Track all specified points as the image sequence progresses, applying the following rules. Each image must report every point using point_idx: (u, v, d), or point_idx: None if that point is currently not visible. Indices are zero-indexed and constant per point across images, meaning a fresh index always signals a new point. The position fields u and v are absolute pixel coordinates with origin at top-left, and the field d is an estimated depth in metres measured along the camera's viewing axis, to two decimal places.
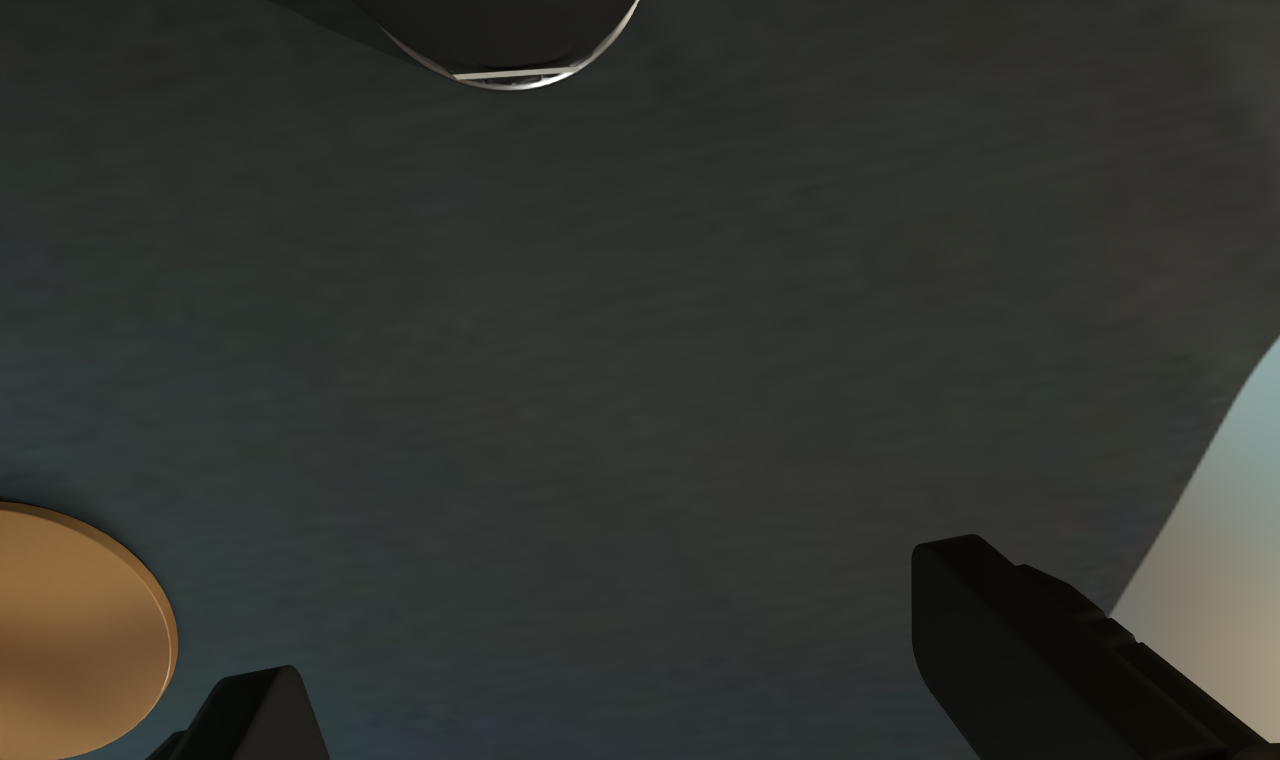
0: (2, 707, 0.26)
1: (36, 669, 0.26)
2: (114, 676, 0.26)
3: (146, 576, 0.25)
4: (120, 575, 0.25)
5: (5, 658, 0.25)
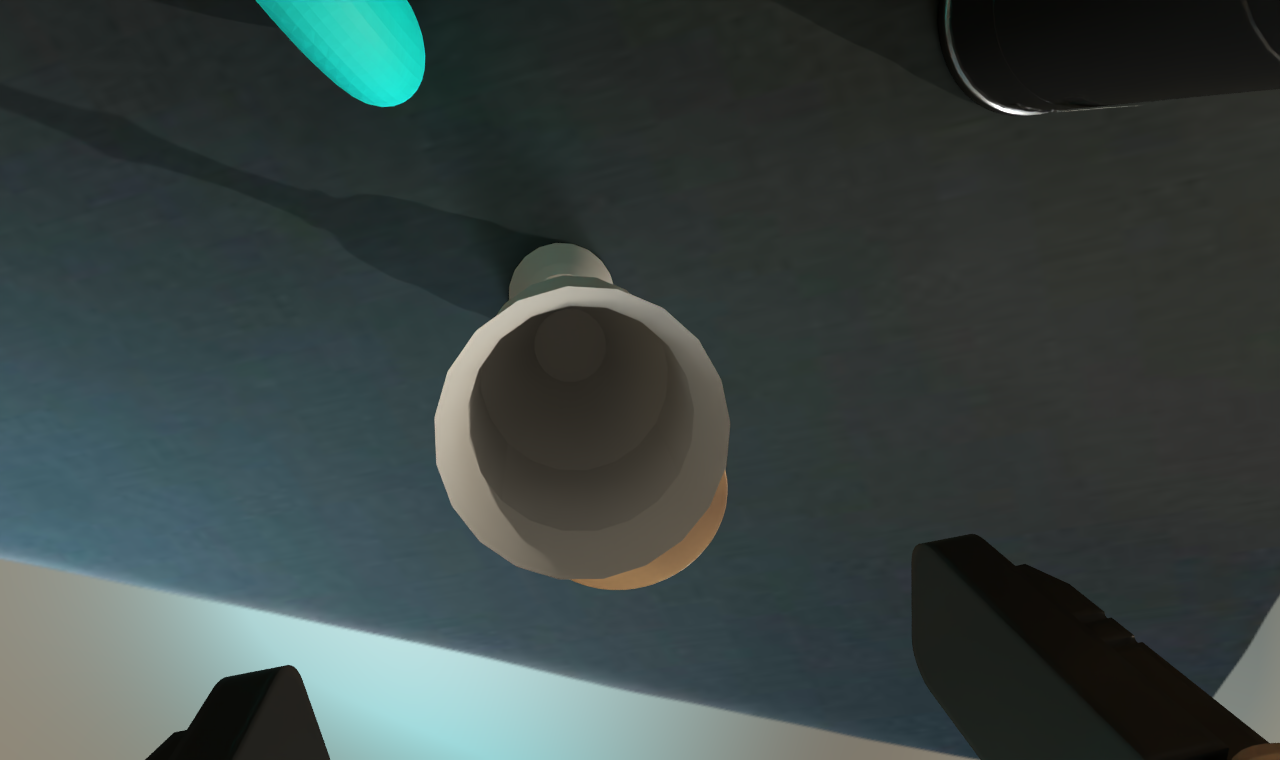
0: None
1: None
2: None
3: None
4: None
5: None
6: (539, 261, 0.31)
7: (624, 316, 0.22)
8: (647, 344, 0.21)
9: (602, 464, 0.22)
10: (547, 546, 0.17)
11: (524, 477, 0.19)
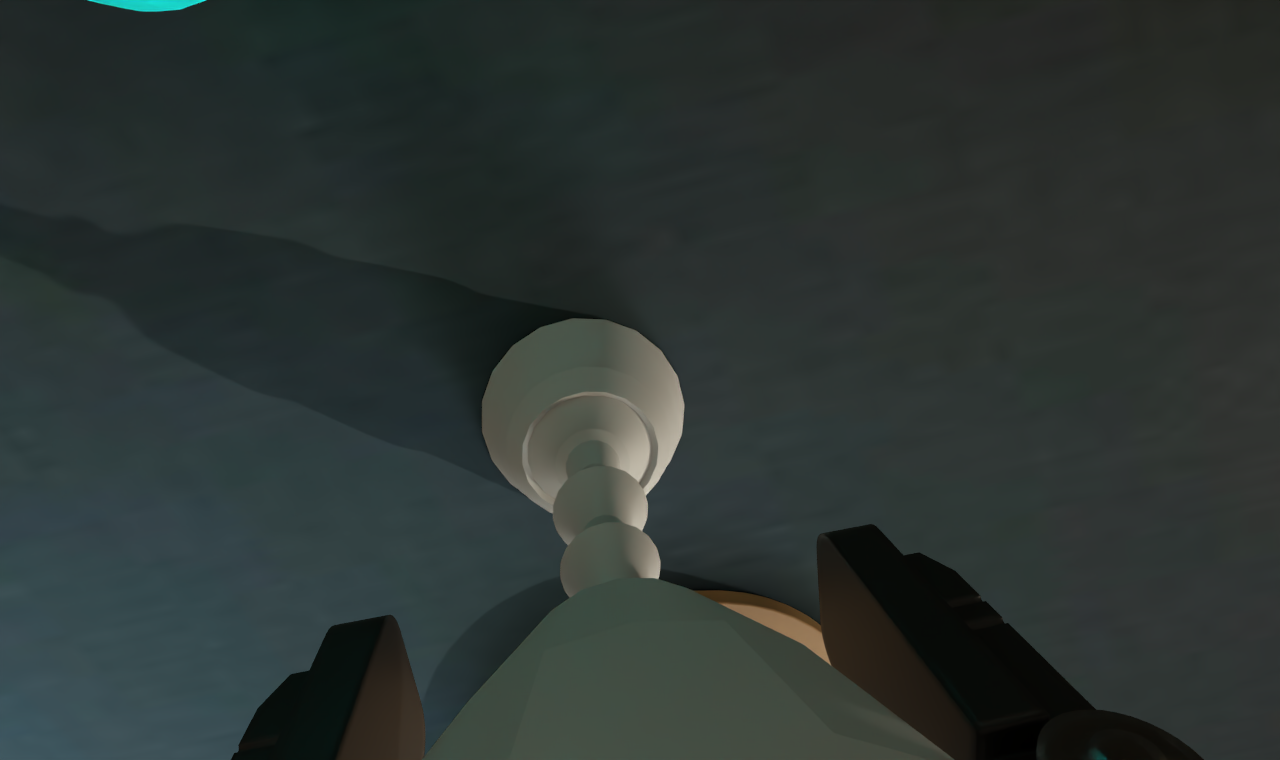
0: None
1: None
2: None
3: None
4: None
5: None
6: (541, 359, 0.15)
7: None
8: None
9: None
10: None
11: None
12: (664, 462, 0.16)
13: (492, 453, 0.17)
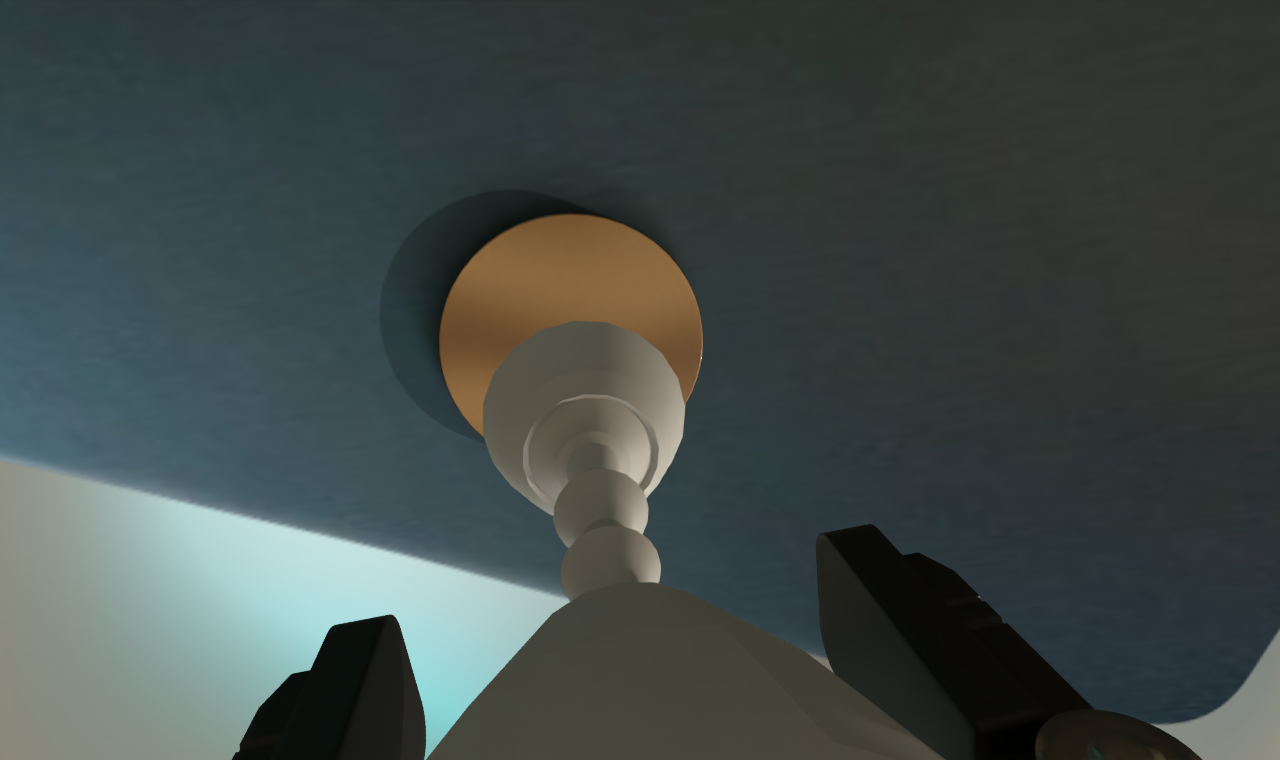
0: None
1: None
2: None
3: (692, 292, 0.29)
4: (678, 287, 0.28)
5: None
6: (542, 362, 0.15)
7: None
8: None
9: None
10: None
11: None
12: (665, 464, 0.16)
13: (492, 455, 0.17)
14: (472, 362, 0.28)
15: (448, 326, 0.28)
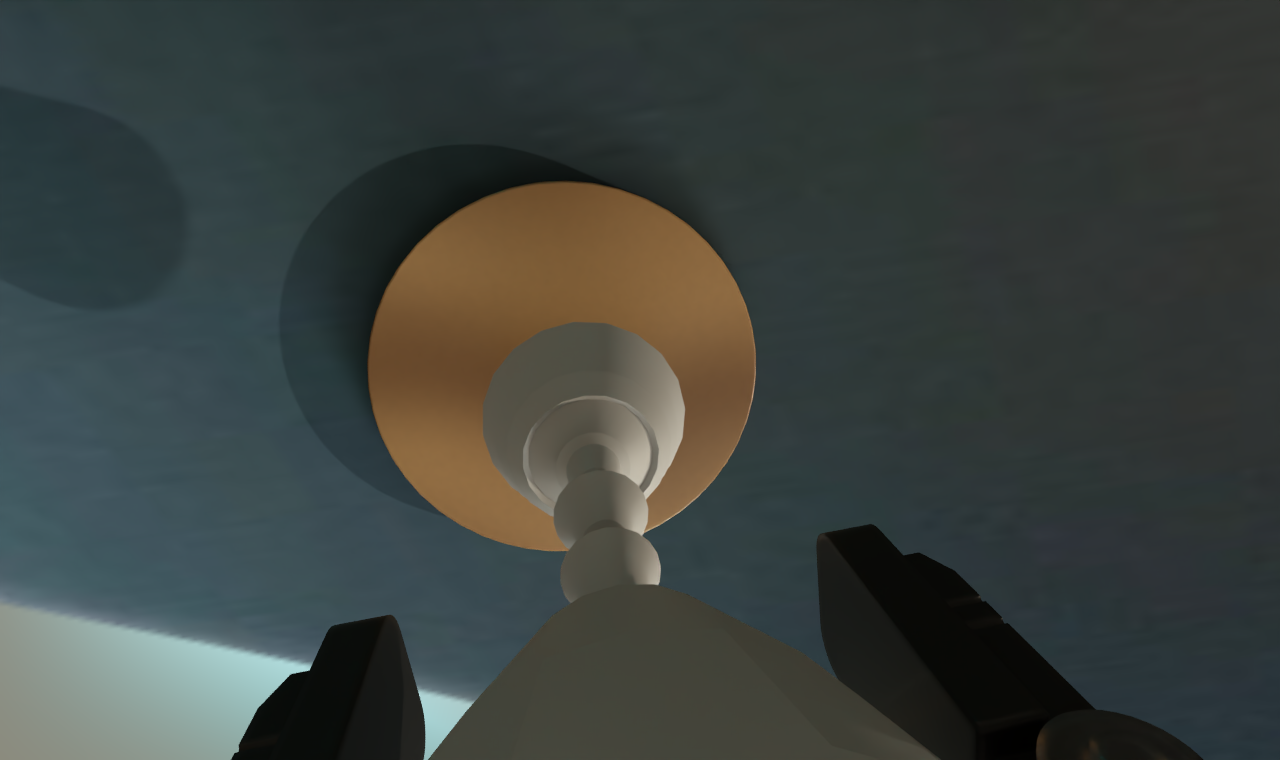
0: None
1: None
2: None
3: (742, 301, 0.20)
4: (723, 293, 0.19)
5: None
6: (542, 363, 0.15)
7: None
8: None
9: None
10: None
11: None
12: (665, 466, 0.16)
13: (492, 456, 0.17)
14: (418, 401, 0.19)
15: (381, 348, 0.18)
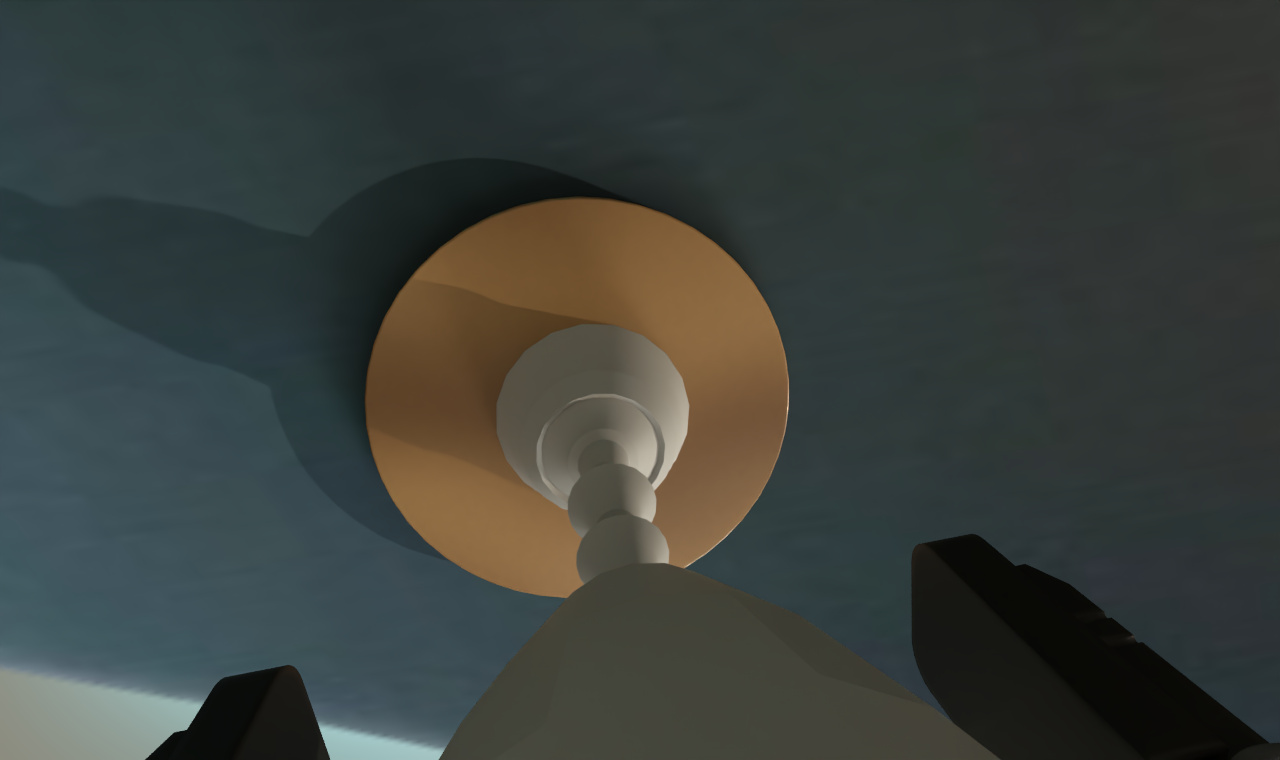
0: (558, 514, 0.19)
1: None
2: (706, 472, 0.19)
3: (774, 324, 0.18)
4: (753, 316, 0.18)
5: None
6: (553, 363, 0.16)
7: None
8: None
9: None
10: None
11: None
12: (671, 460, 0.16)
13: (505, 453, 0.18)
14: (421, 440, 0.17)
15: (379, 383, 0.17)
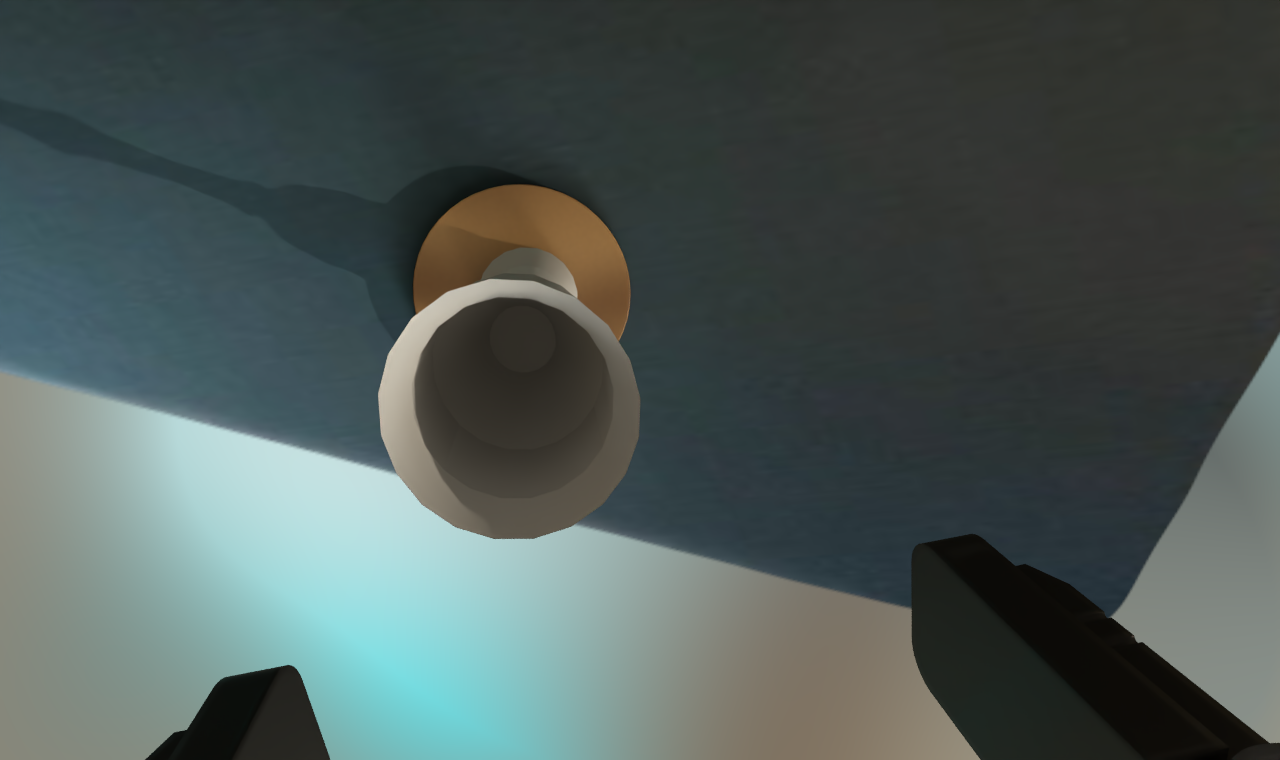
0: None
1: None
2: None
3: (620, 249, 0.35)
4: (608, 244, 0.35)
5: None
6: (505, 264, 0.33)
7: None
8: (586, 335, 0.24)
9: (547, 444, 0.24)
10: (484, 510, 0.19)
11: (471, 453, 0.22)
12: None
13: None
14: None
15: (420, 276, 0.34)
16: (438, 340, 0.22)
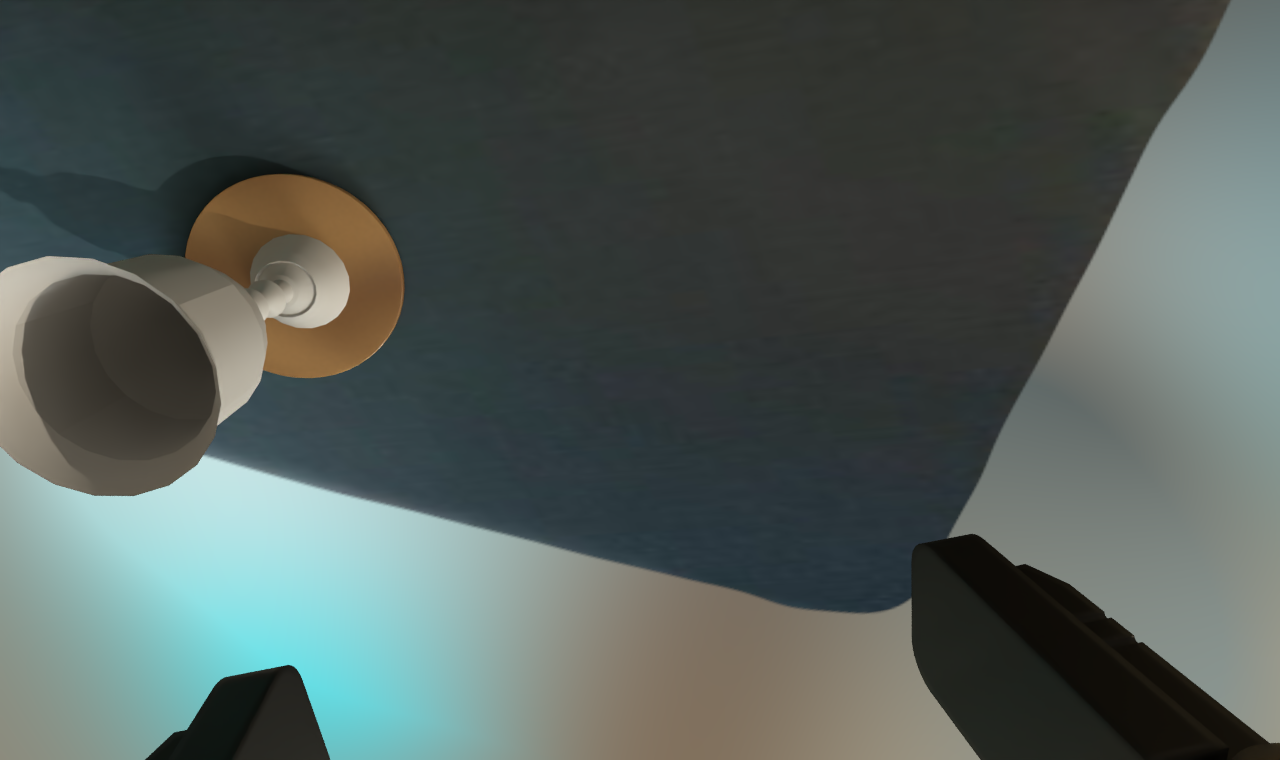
0: (287, 331, 0.38)
1: None
2: (363, 312, 0.38)
3: (390, 237, 0.37)
4: (375, 232, 0.37)
5: None
6: (267, 250, 0.35)
7: None
8: None
9: None
10: (93, 470, 0.21)
11: (119, 421, 0.24)
12: (324, 296, 0.35)
13: None
14: None
15: None
16: (97, 316, 0.24)
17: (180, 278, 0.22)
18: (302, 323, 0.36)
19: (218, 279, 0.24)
